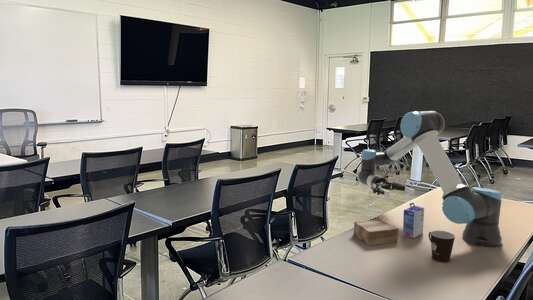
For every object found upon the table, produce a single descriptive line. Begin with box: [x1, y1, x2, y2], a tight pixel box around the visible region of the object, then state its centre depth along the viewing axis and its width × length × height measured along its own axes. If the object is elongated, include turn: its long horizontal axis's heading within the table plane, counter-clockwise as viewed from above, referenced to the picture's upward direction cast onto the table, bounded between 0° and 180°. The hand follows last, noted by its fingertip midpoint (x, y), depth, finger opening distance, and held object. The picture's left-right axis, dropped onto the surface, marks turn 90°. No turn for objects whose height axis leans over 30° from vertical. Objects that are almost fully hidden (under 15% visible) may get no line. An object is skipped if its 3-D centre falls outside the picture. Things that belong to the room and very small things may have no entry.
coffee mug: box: [428, 230, 456, 264], centre depth 155 cm, size 12×9×10 cm
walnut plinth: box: [353, 218, 399, 246], centre depth 175 cm, size 13×14×6 cm
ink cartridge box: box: [402, 202, 425, 239], centre depth 179 cm, size 10×6×14 cm, turn 134°
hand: (401, 193), depth 187 cm, fingers open, 13 cm apart
